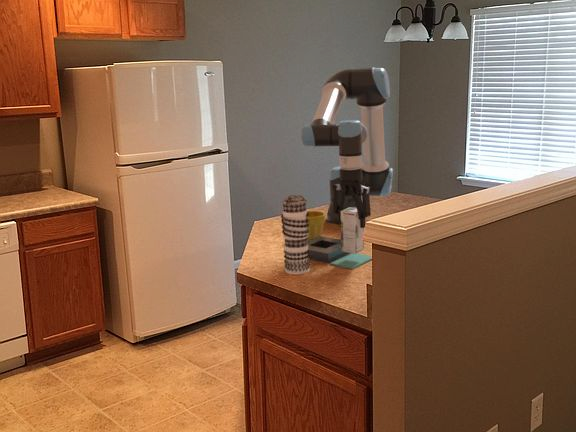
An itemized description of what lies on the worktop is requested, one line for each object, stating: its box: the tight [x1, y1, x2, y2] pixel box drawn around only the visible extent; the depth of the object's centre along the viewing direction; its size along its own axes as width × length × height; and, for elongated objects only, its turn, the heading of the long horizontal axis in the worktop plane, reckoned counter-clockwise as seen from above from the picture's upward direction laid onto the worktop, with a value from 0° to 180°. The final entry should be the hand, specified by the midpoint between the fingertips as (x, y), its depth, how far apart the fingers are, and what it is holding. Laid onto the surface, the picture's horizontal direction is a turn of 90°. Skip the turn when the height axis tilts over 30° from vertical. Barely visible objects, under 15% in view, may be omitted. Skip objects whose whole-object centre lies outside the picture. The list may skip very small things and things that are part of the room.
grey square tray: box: [307, 235, 351, 264], centre depth 226 cm, size 16×16×4 cm
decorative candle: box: [280, 194, 311, 275], centre depth 208 cm, size 9×9×25 cm
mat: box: [329, 252, 372, 270], centre depth 216 cm, size 14×9×1 cm, turn 140°
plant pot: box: [306, 210, 326, 240], centre depth 246 cm, size 10×10×10 cm
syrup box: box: [340, 207, 365, 254], centre depth 214 cm, size 6×6×14 cm
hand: (352, 235), depth 214 cm, fingers closed on syrup box, 6 cm apart
